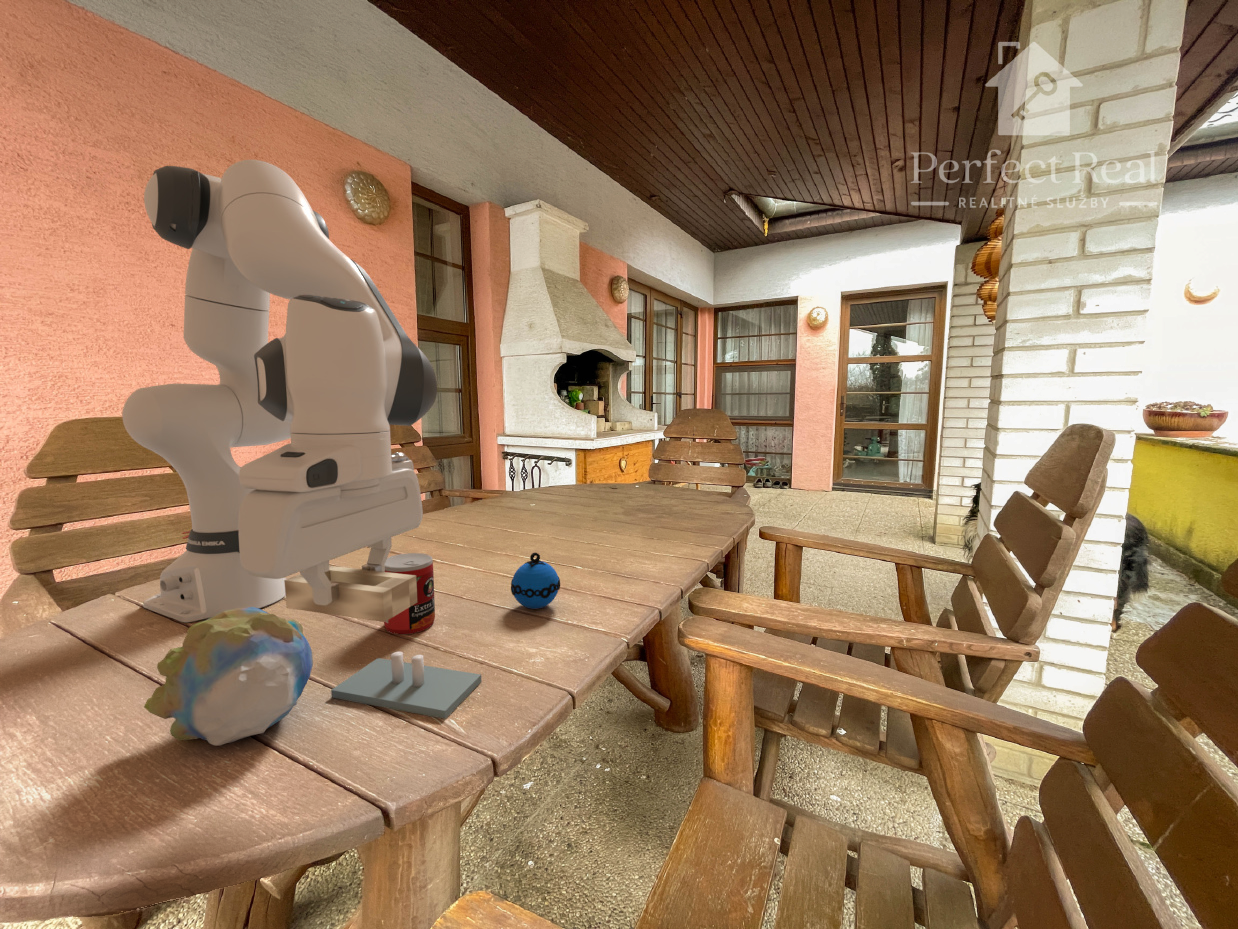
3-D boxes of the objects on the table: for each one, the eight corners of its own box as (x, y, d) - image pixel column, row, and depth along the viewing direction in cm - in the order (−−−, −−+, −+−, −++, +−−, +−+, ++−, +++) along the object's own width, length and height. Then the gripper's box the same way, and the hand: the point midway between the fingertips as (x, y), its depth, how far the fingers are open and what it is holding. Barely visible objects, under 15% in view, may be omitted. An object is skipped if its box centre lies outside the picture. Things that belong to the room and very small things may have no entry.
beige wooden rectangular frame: (286, 608, 52) (284, 580, 51) (325, 590, 57) (324, 565, 56) (384, 622, 49) (382, 592, 48) (417, 602, 54) (416, 575, 53)
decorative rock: (247, 615, 49) (309, 570, 64) (67, 678, 46) (175, 616, 61) (302, 737, 51) (350, 666, 66) (133, 804, 48) (222, 715, 63)
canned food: (418, 637, 77) (415, 569, 76) (372, 632, 79) (368, 565, 78) (444, 617, 85) (442, 554, 83) (402, 613, 86) (399, 551, 85)
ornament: (522, 621, 83) (521, 563, 82) (504, 604, 90) (503, 550, 89) (568, 610, 88) (568, 555, 87) (548, 594, 95) (547, 543, 94)
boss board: (331, 697, 62) (329, 663, 61) (378, 664, 69) (376, 634, 69) (445, 718, 58) (444, 682, 57) (481, 681, 65) (480, 649, 65)
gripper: (389, 449, 61) (394, 558, 63) (218, 471, 42) (233, 628, 44) (433, 451, 60) (437, 562, 62) (278, 475, 40) (290, 637, 42)
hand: (351, 590), depth 52 cm, fingers closed on beige wooden rectangular frame, 5 cm apart
